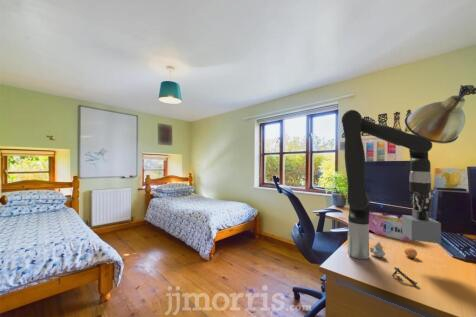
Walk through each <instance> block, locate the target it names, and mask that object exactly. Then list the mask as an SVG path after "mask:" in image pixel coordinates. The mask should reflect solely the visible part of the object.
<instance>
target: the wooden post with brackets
mask: <svg viewBox="0 0 476 317" xmlns="http://www.w3.org/2000/svg"><path fill="white" fill-rule="evenodd" d="M393 269H394V272H393V273H392V277H396V279H398V280H399V281H402V282H403V278H404V280H405V279H406V280H407V281H408V282H409V283H410V284H411V285H412V287H415V286H417V285H418V281H414V279H412V278H410V277H409V276H408V275H406V273H404V272H402V271H401V269H400V268H398V267H396V266H394V268H393ZM397 274H399V276H398V275H397ZM400 275H401V277H400ZM402 277H403V278H402Z"/></svg>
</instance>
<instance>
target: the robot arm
mask: <svg viewBox="0 0 476 317" xmlns="http://www.w3.org/2000/svg"><path fill="white" fill-rule="evenodd" d="M341 124H342V129H343V133H344V166H345V172H346V173H345V175H346V178H347V199H346V200H347V204H348V205H349V211H348V216H347V218H348V226H347V227H348V228H347V229H348V232H347V253H348V256H349V257H352V258H355V259H357V260H369V258H370V232H369V215H370V212H371V211H370V210H371V209H370V208H371V207H370V196H369V194H368V193H367V192H366V186H365V176H366V155H365V154H366V153H365V149H364V143H363V139H362V133H363V134H367V135H370V136H373V137H375V138H378V139H380V140H383V141H385V142H387V143H390V144H392V145H395V146H399V147H404V148H406V149H408V151H409V158H410V165H409V166H410V167H409V170H410V171H409V181H408V182H409V187H408V188H409V189H408V190H409V192H413V193H412V194H411V193H410V194H409V197H410V205H411V207H412V209H414V210H419V219H420V220H426V212H430V209H431V202H432V199H431V198H428V195H427V193H428V194H429V193H431V192H432V174H431V169H432V168H431V161H430V159H429V152H430V151H431V150H432V148H433V143H432V141H431V140H430V139H428V138H426V137H424V136H421V135H418V134H413V133H409V132H406V131H404V130H401V129H398V128H395V127H392V126H388V125H384V124H380V123H375V122H372V121H370V120H367V119H365V118H363V117H362V115H361V113H360V112H359V111H357V110H356V109H355V110H354V109H349V110H347V111H346V112H345V113H343V115H342V116H341Z"/></svg>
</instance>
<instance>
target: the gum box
mask: <svg viewBox="0 0 476 317" xmlns="http://www.w3.org/2000/svg"><path fill="white" fill-rule="evenodd" d="M369 230H372V231H373V232H374V233H373V234H375V235H379V236H380V235H381V236H384V237H388V238H392V239H396V240H401V241H404V242H408V243H409V242H410V241H412V240H411V239H409V238H408V237H407V236H406V235H404V234H403V233H402V215H396V214H390V213H383V212H377V211H370V215H369Z"/></svg>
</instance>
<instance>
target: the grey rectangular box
mask: <svg viewBox="0 0 476 317" xmlns="http://www.w3.org/2000/svg"><path fill="white" fill-rule="evenodd" d="M401 216H402V233H403V234H404V235H406V236H407V237H408V238H409V239H411V241H416V242H424V243H425V242H426V243H432V244H439V245H441V244H442V223H441V222H440V221H437V220H435V219H433V218H431V217H430V211H427V212H426V220H420V219H419V210H414V209H413V208H412V212H411V215H409V214H408V215H407V214H402V215H401Z"/></svg>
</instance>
